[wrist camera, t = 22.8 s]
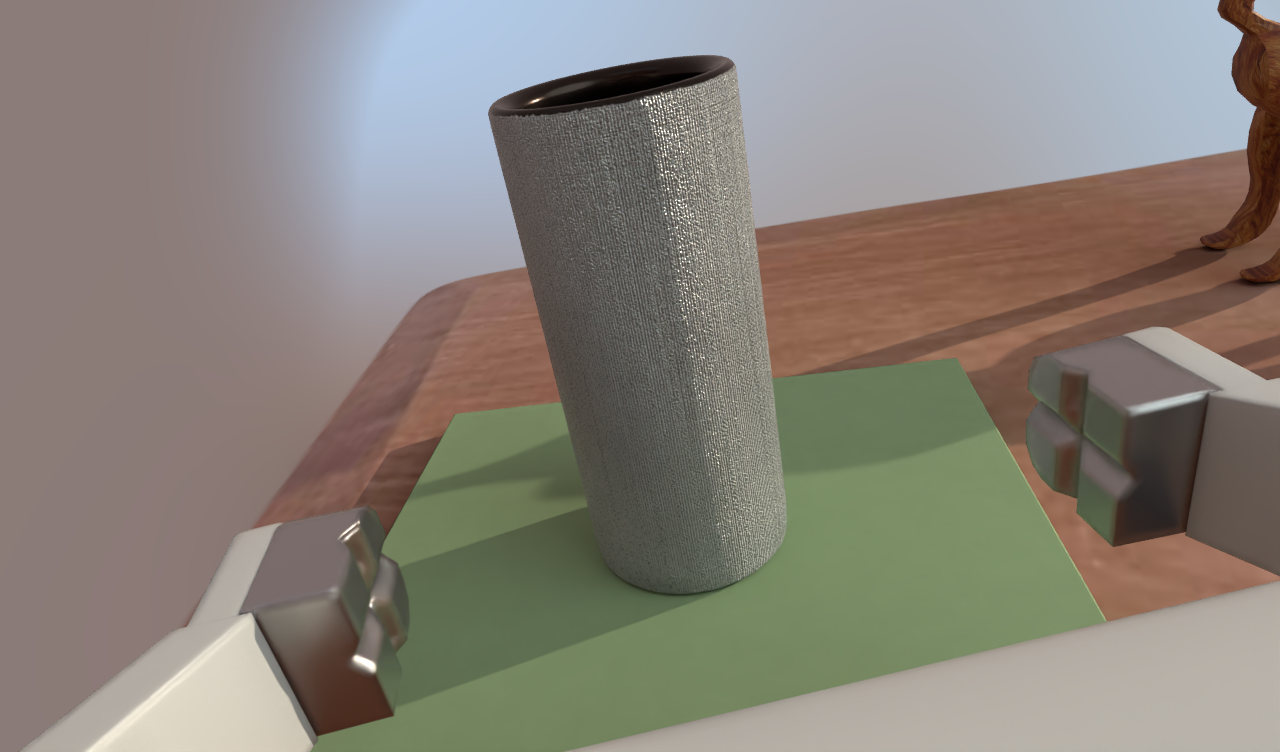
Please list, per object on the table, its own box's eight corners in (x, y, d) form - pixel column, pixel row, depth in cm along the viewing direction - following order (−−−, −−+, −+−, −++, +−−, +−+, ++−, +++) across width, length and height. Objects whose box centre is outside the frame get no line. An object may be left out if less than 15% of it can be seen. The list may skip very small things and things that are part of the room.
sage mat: (243, 834, 15) (229, 813, 14) (459, 428, 27) (454, 413, 27) (1196, 809, 12) (1202, 784, 12) (956, 374, 24) (957, 357, 24)
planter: (799, 587, 17) (742, 75, 12) (589, 607, 18) (457, 126, 13) (778, 465, 21) (729, 43, 16) (608, 484, 22) (513, 84, 17)
